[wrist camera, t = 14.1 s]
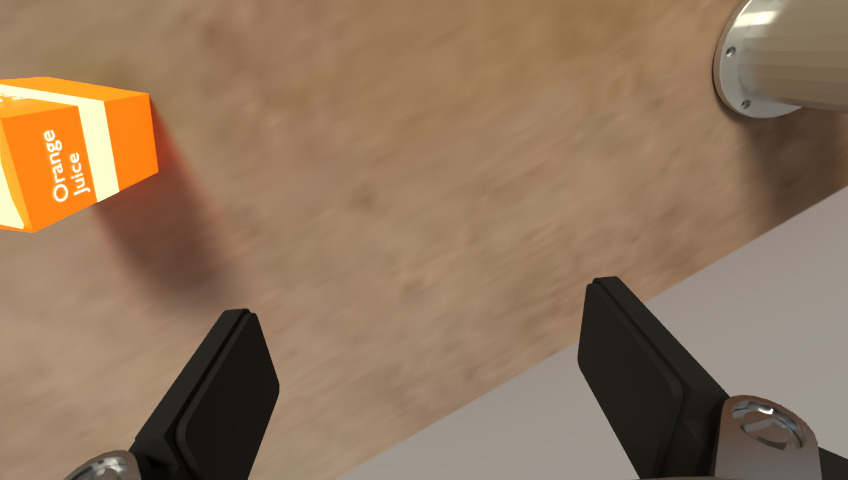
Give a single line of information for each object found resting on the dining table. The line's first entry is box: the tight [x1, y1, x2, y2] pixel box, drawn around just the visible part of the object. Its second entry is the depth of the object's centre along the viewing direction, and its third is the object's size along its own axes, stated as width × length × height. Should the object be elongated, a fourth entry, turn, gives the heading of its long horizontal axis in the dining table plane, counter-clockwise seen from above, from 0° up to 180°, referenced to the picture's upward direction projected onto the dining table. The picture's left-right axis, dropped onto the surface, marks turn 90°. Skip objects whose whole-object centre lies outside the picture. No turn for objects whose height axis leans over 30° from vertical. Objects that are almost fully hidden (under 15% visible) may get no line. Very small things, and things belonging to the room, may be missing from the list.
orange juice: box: [0, 77, 158, 233], centre depth 28 cm, size 8×9×20 cm
